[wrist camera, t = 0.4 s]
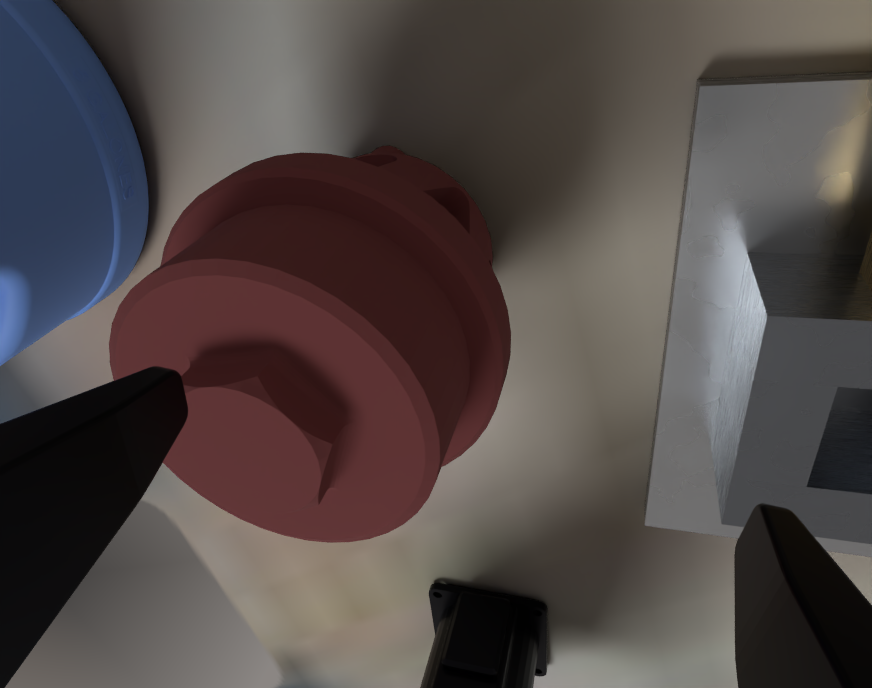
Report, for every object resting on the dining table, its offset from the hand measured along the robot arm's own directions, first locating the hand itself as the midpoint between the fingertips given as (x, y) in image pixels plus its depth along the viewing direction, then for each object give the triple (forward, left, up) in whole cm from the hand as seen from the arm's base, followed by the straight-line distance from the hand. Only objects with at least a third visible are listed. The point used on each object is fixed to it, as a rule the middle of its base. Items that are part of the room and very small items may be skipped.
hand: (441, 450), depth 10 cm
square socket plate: (-6, -10, -14) cm, 19 cm away
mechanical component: (-2, +5, -14) cm, 15 cm away
